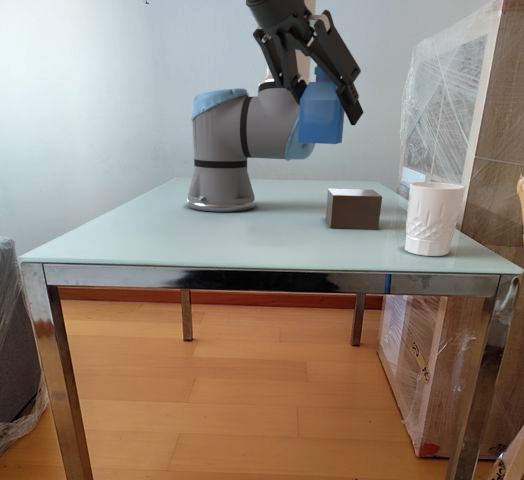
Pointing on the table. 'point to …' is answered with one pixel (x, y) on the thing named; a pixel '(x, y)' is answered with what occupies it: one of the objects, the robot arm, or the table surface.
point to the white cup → (432, 217)
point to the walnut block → (353, 208)
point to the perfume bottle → (320, 112)
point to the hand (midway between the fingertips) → (335, 118)
